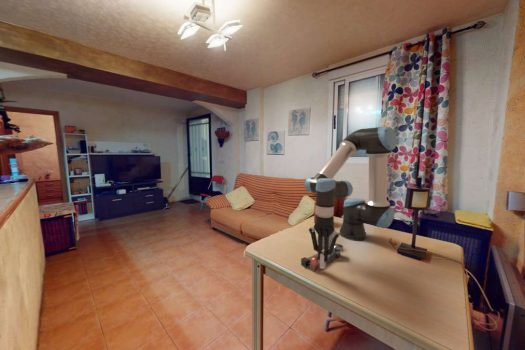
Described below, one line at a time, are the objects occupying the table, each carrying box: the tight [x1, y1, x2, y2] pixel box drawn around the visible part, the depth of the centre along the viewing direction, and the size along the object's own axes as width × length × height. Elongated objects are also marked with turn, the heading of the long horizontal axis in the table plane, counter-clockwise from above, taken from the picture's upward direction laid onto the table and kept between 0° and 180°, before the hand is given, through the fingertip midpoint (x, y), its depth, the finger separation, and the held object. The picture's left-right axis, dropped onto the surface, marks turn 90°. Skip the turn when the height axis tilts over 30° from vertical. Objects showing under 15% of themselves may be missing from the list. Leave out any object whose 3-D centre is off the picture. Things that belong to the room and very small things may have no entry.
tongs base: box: [300, 250, 342, 269], centre depth 95 cm, size 22×6×4 cm, turn 124°
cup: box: [316, 233, 334, 249], centre depth 109 cm, size 7×10×9 cm
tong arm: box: [309, 242, 344, 272], centre depth 94 cm, size 22×6×5 cm, turn 129°
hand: (322, 267), depth 86 cm, fingers closed
